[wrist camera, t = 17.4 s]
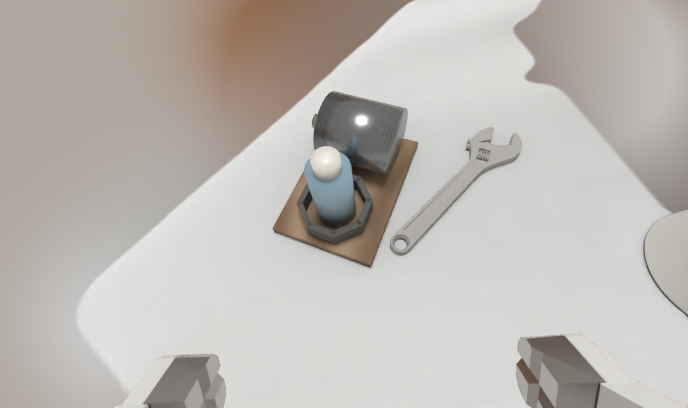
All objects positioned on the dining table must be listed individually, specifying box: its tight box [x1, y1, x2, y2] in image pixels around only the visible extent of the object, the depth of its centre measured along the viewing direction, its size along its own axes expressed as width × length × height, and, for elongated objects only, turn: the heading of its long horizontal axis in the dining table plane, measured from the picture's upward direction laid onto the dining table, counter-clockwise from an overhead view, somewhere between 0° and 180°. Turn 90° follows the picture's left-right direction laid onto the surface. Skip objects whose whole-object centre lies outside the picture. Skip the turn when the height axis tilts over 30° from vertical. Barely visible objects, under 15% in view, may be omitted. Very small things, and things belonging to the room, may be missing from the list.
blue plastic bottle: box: [304, 146, 356, 228], centre depth 40 cm, size 5×5×12 cm
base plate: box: [273, 138, 418, 267], centre depth 48 cm, size 14×20×1 cm
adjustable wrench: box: [390, 127, 522, 255], centre depth 47 cm, size 25×6×2 cm, turn 130°
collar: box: [296, 175, 373, 245], centre depth 45 cm, size 9×9×2 cm
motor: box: [312, 91, 408, 176], centre depth 46 cm, size 12×9×9 cm
